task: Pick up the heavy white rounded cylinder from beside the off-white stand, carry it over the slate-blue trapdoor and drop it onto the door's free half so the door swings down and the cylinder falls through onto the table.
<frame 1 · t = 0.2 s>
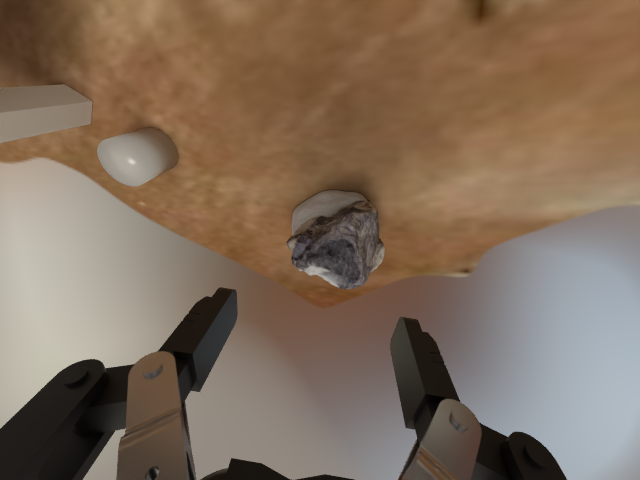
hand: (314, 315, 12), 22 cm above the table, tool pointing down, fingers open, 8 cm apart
white rounded cylinder: (158, 149, 31), on the table
stone: (335, 215, 34), on the table
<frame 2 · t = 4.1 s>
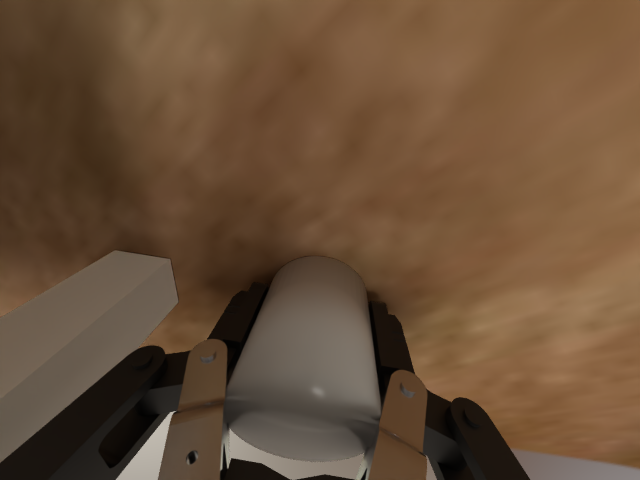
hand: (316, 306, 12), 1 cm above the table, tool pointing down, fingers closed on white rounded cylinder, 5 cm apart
white rounded cylinder: (318, 297, 13), on the table, touching gripper
when the fingers open (19 cm above the table, at t = 9.4 s): white rounded cylinder drops 6 cm, resting on trapdoor.
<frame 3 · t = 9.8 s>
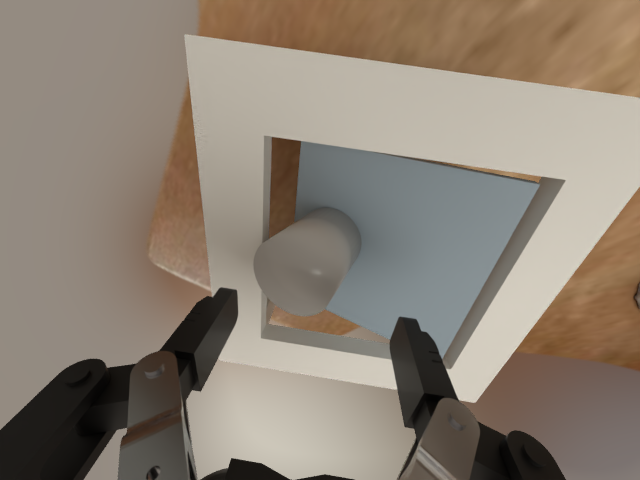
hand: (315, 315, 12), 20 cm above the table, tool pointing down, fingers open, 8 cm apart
white rounded cylinder: (329, 239, 19), point 12 cm above the table, tilted 19°, touching trapdoor
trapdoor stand: (360, 199, 29), on the table
trapdoor: (375, 252, 18), point 13 cm above the table, hinge at -22.4°, touching white rounded cylinder
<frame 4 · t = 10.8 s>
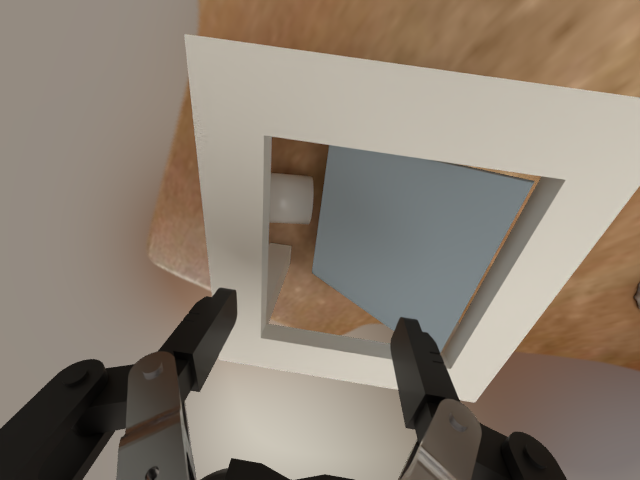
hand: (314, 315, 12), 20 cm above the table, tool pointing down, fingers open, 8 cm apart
white rounded cylinder: (309, 200, 26), point 4 cm above the table, tilted 76°
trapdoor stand: (360, 199, 30), on the table
trapdoor: (384, 243, 20), point 11 cm above the table, hinge at -39.3°
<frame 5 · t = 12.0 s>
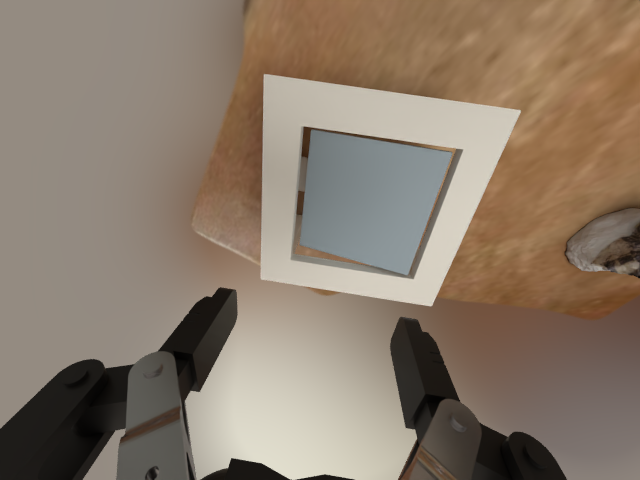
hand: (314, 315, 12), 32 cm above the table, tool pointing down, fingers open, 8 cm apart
white rounded cylinder: (314, 176, 38), point 3 cm above the table, tilted 90°
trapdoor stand: (356, 178, 40), on the table
trapdoor: (363, 205, 27), point 14 cm above the table, hinge at -13.5°
stone: (606, 233, 40), on the table
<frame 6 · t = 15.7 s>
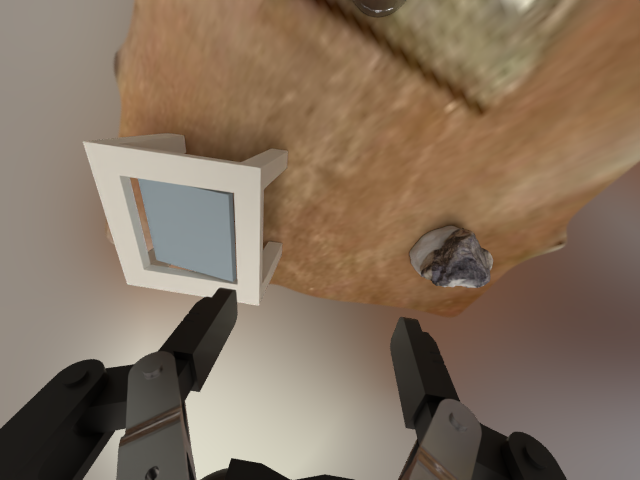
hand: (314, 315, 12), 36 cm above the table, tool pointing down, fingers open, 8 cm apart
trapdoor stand: (230, 200, 48), on the table
trapdoor: (190, 230, 36), point 14 cm above the table, hinge at -9.7°
stone: (438, 245, 49), on the table
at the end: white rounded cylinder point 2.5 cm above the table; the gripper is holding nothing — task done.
